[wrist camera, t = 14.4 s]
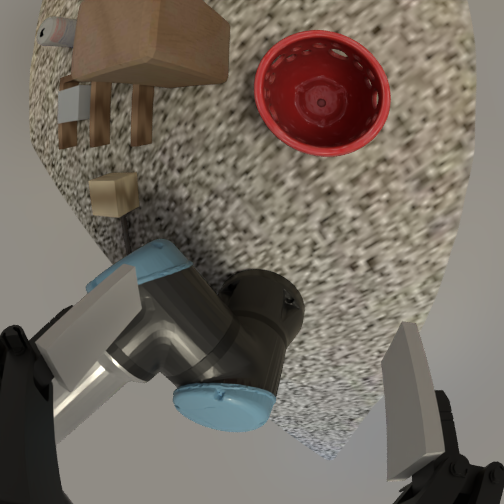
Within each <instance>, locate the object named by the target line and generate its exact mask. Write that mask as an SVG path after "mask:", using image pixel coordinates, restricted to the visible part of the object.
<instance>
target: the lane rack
mask: <svg viewBox="0 0 504 504" xmlns="http://www.w3.org/2000/svg"><path fill="white" fill-rule="evenodd" d="M79 82H83V81H76V80H74V79H73V78H72V75H68V76H65V77H62V78H60V90H59V91H62V90H65V89H68V88H72V87H75V86H78V84H79ZM111 86H112V82H91V97H90V147H98V146H102V145H107V144H110V104H111ZM153 97H154V86H149V85H139V84H133V93H132V112H131V146H141V145H146V144H151V143H152V116H153ZM58 134H59V149H65V148H69V147H73V146H77V121H72V122H65V123H59V124H58Z"/></svg>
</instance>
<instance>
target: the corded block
mask: <svg viewBox="0 0 504 504" xmlns="http://www.w3.org/2000/svg"><path fill="white" fill-rule="evenodd" d="M89 189H90V197H91V204H92V211H93V215H96V216H106V217H116V218H119V217H121V221H122V228H123V235H124V241H125V247H126V253H127V255H129V254H130V253H132V252H131V246H130V239H129V233H128V225H127V218H126V213H128V212H130V211H132V210H133V209H135V208H137V207H139V196H138V184H137V172H128V173H109V174H106V175H103V176H100V177H98V178H95V179H92V180H89Z"/></svg>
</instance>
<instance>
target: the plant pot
mask: <svg viewBox="0 0 504 504" xmlns="http://www.w3.org/2000/svg"><path fill="white" fill-rule="evenodd" d="M318 43H320V44H318ZM331 49H337V50H340V51H342V52H344V53H345V54H346V55H347V56H348V57H344V56H342V55H339V54H337V53H335V52H333V51H332V50H331ZM305 50H309V51H305ZM292 54H293V55H292ZM279 55H281V56H280V57H279V58H278V59H277V60H276V62H274V63H273V61H274V60H275V59H276V58H277V57H278V56H279ZM290 55H292V56H291V57H289V58H287V57H288V56H290ZM272 63H273V64H272ZM358 63H359V64H360V65H361V66H362V67H363V68H362V67H361V66H360V65H359V64H358ZM270 76H271V77H270ZM369 80H370V82H371V85H370V83H369ZM377 92H378V97H379V99H378V104H377ZM254 97H255V103H256V106H257V109H258V112H259V114H260V116H261V118H262V119H263V121H264V122H265V124H266V125H267V127H268V128H269V129H270V130H271V132H272V133H273V134H274V135H275V136H276V137H277V138H278V139H280V140H281V141H282V142H284V143H285V144H286V145H288V146H290V147H292V148H293V149H295V150H298V151H300V152H303V153H306V154H309V155H314V156H321V157H334V156H341V155H345V154H349V153H351V152H354V151H356V150H358V149H360V148H362V147H364V146H365V145H366V144H368V143H369V142H370V141H372V140H373V139H374V138H375V137H376V135H377V134H378V133H379V132H380V130H381V129H382V128H383V126H384V124H385V122H386V120H387V117H388V114H389V110H390V102H391V95H390V87H389V83H388V80H387V77H386V75H385V72H384V70H383V68H382V67H381V65H380V64H379V62H378V61H377V60H376V58H375V57H374V56H373V55H372V54H371V53H370V52H369V51H368V50H367V49H366V48H365V47H364V46H362V45H361V44H359V43H358V42H356V41H355V40H353V39H351V38H349V37H347V36H344V35H342V34H338V33H335V32H330V31H324V30H310V31H304V32H299V33H296V34H293V35H290V36H288V37H286V38H284V39H282V40H281V41H279V42H278V43H276V44H275V45H274V46H273V47H272V48H271V49H270V50H269V51H268V52H267V53H266V54H265V56H264V57H263V59H262V60H261V62H260V64H259V66H258V69H257V71H256V75H255V80H254ZM269 110H270V111H269ZM272 116H273V117H272Z"/></svg>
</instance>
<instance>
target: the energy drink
mask: <svg viewBox="0 0 504 504" xmlns="http://www.w3.org/2000/svg"><path fill="white" fill-rule="evenodd" d="M76 23H77V20H74V19H68V18H62V17H55V16H54V17H49V18H47V19H45V20H44V22H43V23H42V24H41V26H40V28H39V30H38V33H37V43H38V44H41V45H43V46H58V47H70V48H73V46H74V37H75V30H76Z"/></svg>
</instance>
